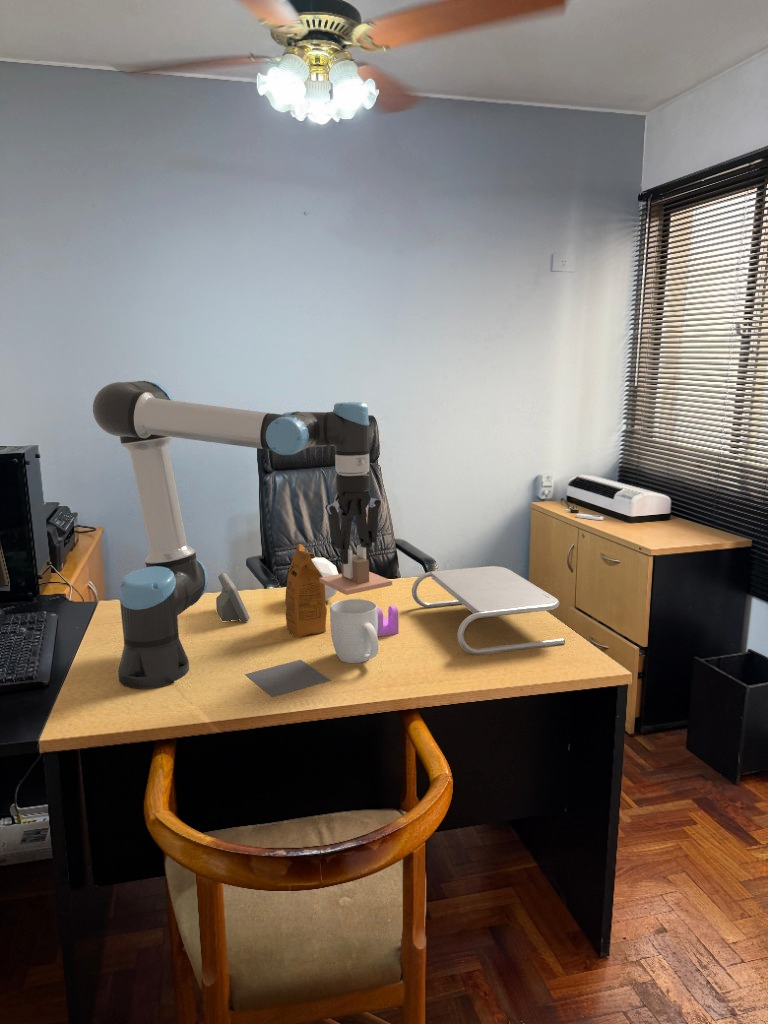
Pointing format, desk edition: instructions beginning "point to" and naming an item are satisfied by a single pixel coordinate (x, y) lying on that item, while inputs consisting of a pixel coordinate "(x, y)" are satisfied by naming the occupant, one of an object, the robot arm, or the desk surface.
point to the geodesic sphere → (326, 573)
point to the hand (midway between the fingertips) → (355, 575)
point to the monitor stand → (490, 599)
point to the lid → (356, 578)
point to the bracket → (388, 622)
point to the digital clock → (230, 602)
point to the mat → (287, 678)
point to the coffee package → (305, 596)
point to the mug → (354, 629)
